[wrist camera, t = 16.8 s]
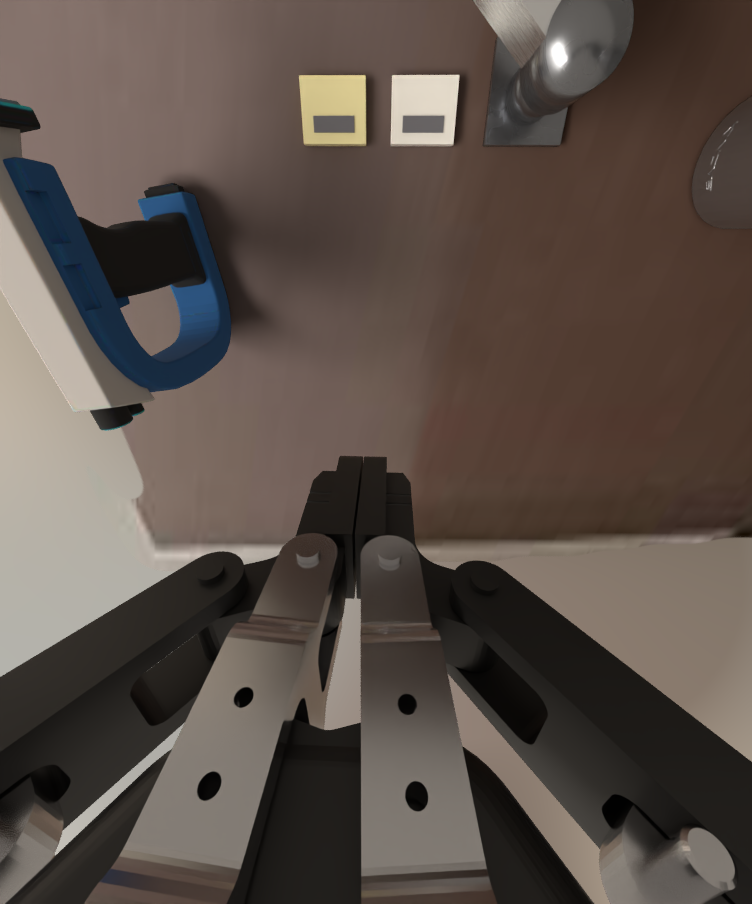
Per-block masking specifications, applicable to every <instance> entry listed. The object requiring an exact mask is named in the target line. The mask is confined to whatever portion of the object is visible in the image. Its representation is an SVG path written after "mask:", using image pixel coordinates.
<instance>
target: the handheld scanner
mask: <svg viewBox="0 0 752 904" xmlns="http://www.w3.org/2000/svg"><path fill="white" fill-rule="evenodd" d="M37 129H40V124H39V122H38V120H37V118H36V115H35V113H34V111H33V110H32V109H31V108H30V107H26V106H21V105H20V104H19V103H18V102H17V101H12V100H6V99H1V98H0V290H1V291H2V293H3V295H4V296H5V298H6V300H7V301H8V303H9V305H10V306H11V307H12V310H13V311H14V313H15V315H16V316H17V318H18V320H19V321H20V323H21V325H22V326H23V328H24V330H25V331H26V333H27V335H28V336H29V338H30V340H31V342H32V343H33V345H34V347H35V348H36V350H37V352H38V353H39V355H40V357H41V358H42V360H43V362H44V363H45V365H46V367H47V368H48V370H49V371H50V373H51V375H52V377H53V378H54V380H55V381H56V383H57V385H58V387H59V388H60V390H61V392H62V393H63V395H64V397H65V398H66V400H67V402H68V403H69V405H70V407H71V408H72V410H73V411H74V412H81V411H89V410H90V412H91V414H92V415H93V417H94V419H95V421H96V423H97V424H98V426H99V428H100V429H101V430H113V429H117V428H120V427H123V426H125V425H127V424H129V423H130V422H131V421H132V420H133V417H132V416H135V415H138V414H141V413H143V412H144V408H143V406H142V404H141V403H144V402H149V401H153V400H155V399H154V397H153V396H152V394H151V393H150V392H156V391H164V390H172V389H177V388H180V387H182V386H184V385H187V384H189V383H192V382H193V381H195V380H196V379H198V378H200V377H201V376H203V375H204V374H205V373H207V372H208V371H209V370H211V369H212V368H213V367H214V366H215V365H217V364H218V363H219V362H220V361H221V359H222V358H223V357H224V355H225V354H226V352H227V349H228V346H229V343H230V336H231V318H230V309H229V303H228V298H227V294H226V291H225V288H224V284H223V281H222V278H221V275H220V272H219V269H218V266H217V263H216V260H215V257H214V253H213V250H212V247H211V244H210V241H209V238H208V235H207V232H206V229H205V225H204V222H203V219H202V216H201V213H200V210H199V207H198V204H197V201H196V198H195V195H193V194H191V193H187V192H184V189H183V187H182V186H178V185H177V184H174V183H171V184H166V185H160V186H155V187H149V188H148V189H149V190H146V191H144V193H145V196H146V198H143V199H139V200H138V203H139V206H140V208H141V211H142V214H143V216H144V219H145V221H130V222H125V223H119V224H114V225H111V226H109V227H108V228H104V227H100V226H98V225H96V224H94V223H92V222H90V221H88V220H86V219H84V218H82V217H78V216H77V214H76V212H75V210H74V208H73V206H72V203H71V201H70V199H69V197H68V195H67V193H66V191H65V189H64V187H63V184H62V182H61V180H60V178H59V176H58V174H57V172H56V170H55V168H54V167H53V166H52V165H50V164H47V163H43V162H39V161H34V160H30V159H25V158H23V157H22V149H21V136H20V133H23V132H27V131H32V130H37ZM168 285H170V286H171V289H172V292H173V294H174V297H175V299H176V302H177V306H178V309H179V314H180V324H181V325H180V333H179V336H178V338H177V340H176V341H175V342H174V343H173V344H172V345H171V346H170V347H168V348H166V349H165V350H163V351H161V352H159V353H157V354H155V355H153V356H150V355H149V354H148V353H147V352H146V351H145V350H144V349H143V348H142V347H141V346H140V344H139V343H138V341H137V340H136V339H135V337H134V336H133V334H132V332H131V330H130V328H129V327H128V325H127V323H126V321H125V319H124V316H123V314H122V312H121V310H120V308H121V307H123V306H126V305H128V304H129V299H128V296H132V295H136V294H141V293H145V292H149V291H152V290H156V289H159V288H162V287H165V286H168Z"/></svg>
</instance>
